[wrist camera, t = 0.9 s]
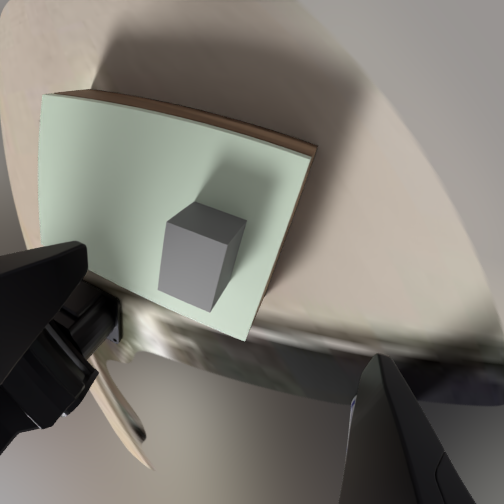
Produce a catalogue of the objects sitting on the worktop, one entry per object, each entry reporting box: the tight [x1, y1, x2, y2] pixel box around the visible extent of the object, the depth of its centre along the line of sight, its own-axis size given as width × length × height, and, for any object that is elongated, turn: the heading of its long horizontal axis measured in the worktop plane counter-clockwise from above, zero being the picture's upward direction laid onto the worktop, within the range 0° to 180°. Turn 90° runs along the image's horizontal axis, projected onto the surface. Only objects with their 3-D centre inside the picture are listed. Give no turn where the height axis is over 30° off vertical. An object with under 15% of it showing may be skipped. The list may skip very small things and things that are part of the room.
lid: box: [38, 94, 312, 341], centre depth 17 cm, size 12×18×4 cm, turn 75°
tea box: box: [54, 89, 318, 331], centre depth 21 cm, size 12×18×4 cm, turn 75°
